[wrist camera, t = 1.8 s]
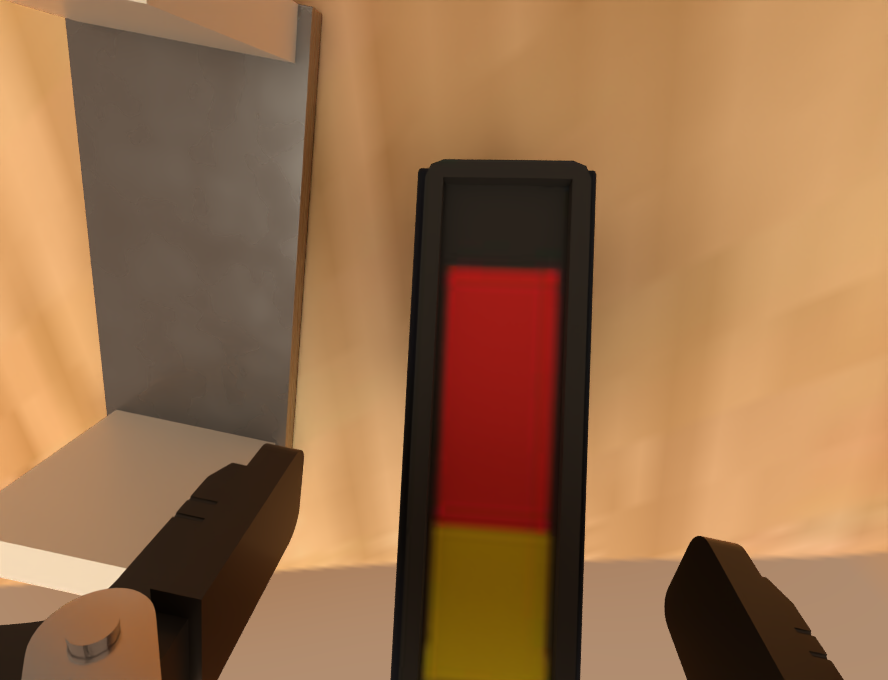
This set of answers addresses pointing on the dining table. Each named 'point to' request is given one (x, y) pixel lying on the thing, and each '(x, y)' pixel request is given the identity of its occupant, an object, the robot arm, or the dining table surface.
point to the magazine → (496, 423)
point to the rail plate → (197, 222)
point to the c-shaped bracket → (120, 433)
